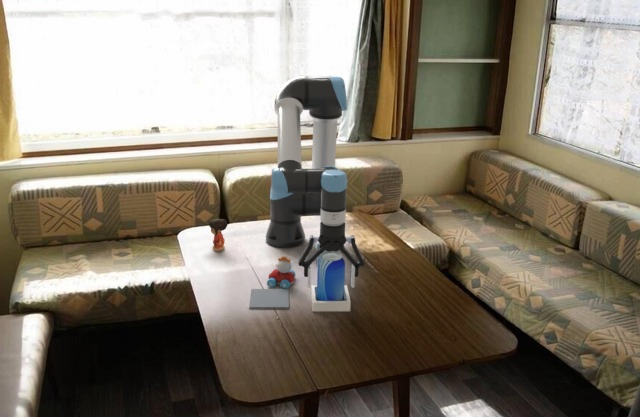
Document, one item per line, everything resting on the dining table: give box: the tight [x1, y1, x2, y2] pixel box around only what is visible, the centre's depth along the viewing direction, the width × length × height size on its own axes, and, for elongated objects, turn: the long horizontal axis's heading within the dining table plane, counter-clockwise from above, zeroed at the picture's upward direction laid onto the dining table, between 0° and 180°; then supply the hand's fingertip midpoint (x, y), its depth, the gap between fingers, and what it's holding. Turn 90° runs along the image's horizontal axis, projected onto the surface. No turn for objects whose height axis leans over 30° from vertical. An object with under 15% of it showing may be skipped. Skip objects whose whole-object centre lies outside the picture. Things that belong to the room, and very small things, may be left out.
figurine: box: [208, 218, 228, 253], centre depth 229 cm, size 6×6×12 cm
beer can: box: [316, 251, 346, 301], centre depth 191 cm, size 8×8×16 cm
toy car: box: [266, 255, 296, 289], centre depth 205 cm, size 9×9×10 cm
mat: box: [249, 288, 290, 310], centre depth 195 cm, size 12×12×1 cm
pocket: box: [310, 284, 352, 312], centre depth 194 cm, size 12×12×3 cm
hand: (330, 285), depth 192 cm, fingers open, 13 cm apart
